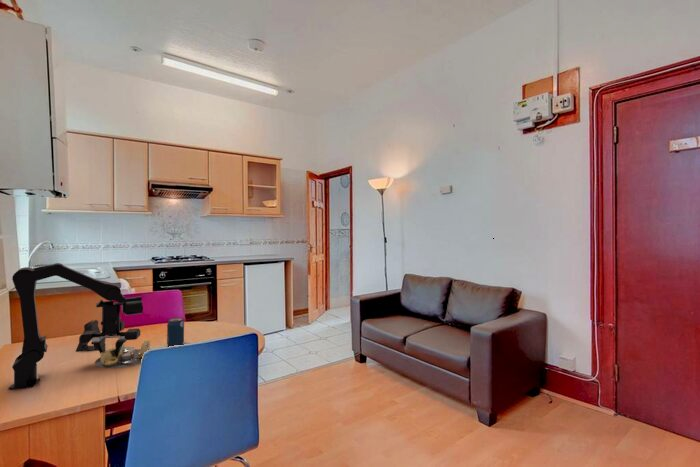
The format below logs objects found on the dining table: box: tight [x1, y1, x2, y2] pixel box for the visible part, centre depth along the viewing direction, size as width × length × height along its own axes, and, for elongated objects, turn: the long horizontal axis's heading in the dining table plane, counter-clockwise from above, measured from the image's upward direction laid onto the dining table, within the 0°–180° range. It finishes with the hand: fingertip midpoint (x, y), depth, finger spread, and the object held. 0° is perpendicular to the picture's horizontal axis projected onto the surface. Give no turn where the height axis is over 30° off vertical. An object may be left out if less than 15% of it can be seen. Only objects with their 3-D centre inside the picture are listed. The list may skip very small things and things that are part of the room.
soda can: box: [166, 317, 185, 347], centre depth 161 cm, size 7×7×12 cm
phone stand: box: [75, 319, 102, 352], centre depth 154 cm, size 9×6×12 cm, turn 103°
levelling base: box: [94, 340, 151, 369], centre depth 141 cm, size 20×20×7 cm
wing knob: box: [100, 346, 120, 367], centre depth 134 cm, size 7×5×6 cm
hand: (110, 357), depth 134 cm, fingers closed on wing knob, 4 cm apart
